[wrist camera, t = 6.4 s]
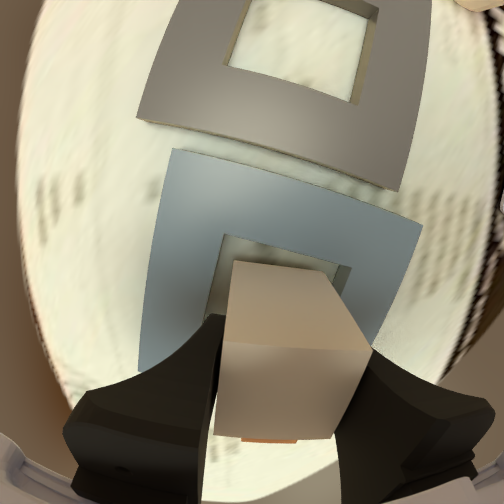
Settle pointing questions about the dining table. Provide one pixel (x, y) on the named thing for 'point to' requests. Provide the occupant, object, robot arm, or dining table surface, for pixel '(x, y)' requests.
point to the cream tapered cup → (479, 4)
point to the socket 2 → (266, 232)
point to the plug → (286, 356)
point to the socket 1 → (296, 89)
